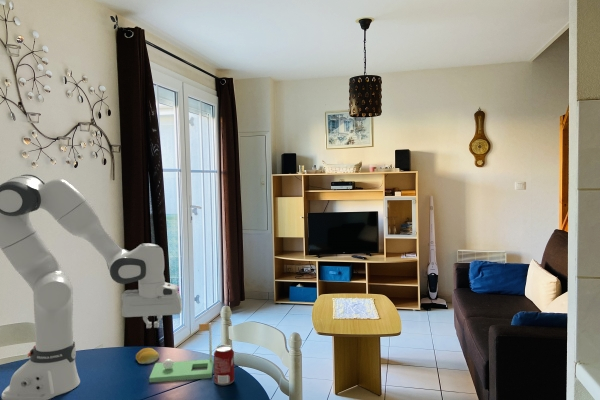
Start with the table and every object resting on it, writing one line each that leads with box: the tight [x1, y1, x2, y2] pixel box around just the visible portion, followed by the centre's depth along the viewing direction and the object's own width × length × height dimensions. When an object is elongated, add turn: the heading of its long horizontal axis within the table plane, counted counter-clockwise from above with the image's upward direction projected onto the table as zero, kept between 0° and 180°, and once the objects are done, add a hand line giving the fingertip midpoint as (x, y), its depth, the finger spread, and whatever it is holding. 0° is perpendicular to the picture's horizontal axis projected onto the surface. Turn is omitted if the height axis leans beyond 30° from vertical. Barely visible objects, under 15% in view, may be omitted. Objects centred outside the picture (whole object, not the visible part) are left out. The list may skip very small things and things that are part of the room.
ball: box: [162, 358, 174, 370], centre depth 155 cm, size 4×4×4 cm
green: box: [148, 322, 214, 383], centre depth 155 cm, size 21×12×16 cm, turn 99°
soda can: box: [213, 344, 235, 387], centre depth 148 cm, size 7×7×12 cm
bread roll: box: [135, 347, 160, 365], centre depth 167 cm, size 8×9×4 cm
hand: (152, 327), depth 153 cm, fingers closed
